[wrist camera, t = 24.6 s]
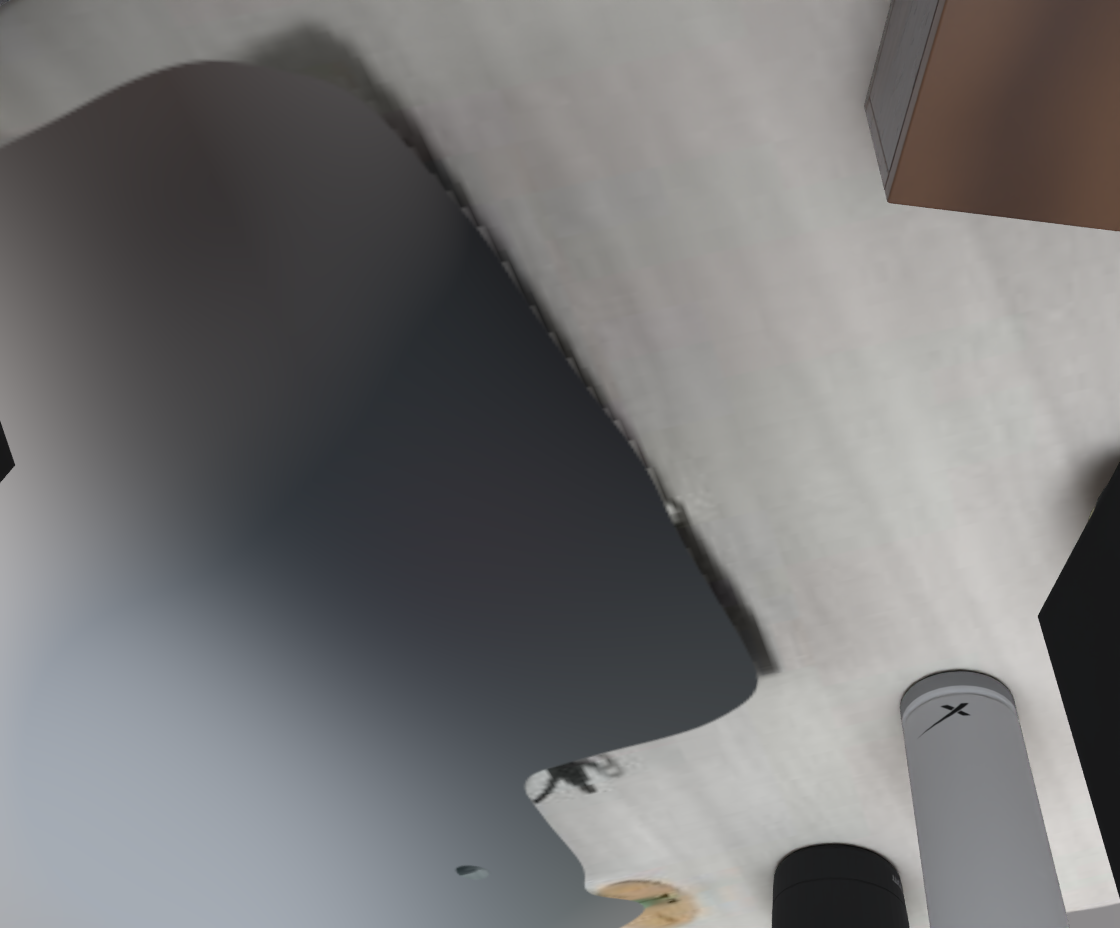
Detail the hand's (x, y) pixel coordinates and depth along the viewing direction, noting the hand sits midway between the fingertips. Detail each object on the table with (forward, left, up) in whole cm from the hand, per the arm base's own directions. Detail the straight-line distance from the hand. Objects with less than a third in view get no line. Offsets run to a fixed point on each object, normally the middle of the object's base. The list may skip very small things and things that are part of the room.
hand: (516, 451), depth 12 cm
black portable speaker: (+20, -60, -32) cm, 71 cm away
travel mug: (+22, -40, -32) cm, 56 cm away
